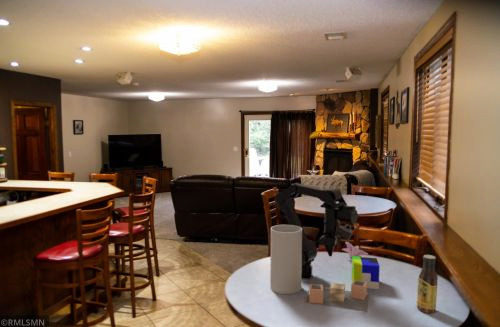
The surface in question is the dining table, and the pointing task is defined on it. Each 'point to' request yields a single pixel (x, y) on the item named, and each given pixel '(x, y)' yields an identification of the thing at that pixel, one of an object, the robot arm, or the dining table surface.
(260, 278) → the dining table surface
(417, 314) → the dining table surface
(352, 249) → the lily
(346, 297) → the mat
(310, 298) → the labelled block left
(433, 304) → the sauce bottle
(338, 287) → the plain block
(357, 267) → the puzzle toy
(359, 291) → the labelled block right
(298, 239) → the cylinder vase
